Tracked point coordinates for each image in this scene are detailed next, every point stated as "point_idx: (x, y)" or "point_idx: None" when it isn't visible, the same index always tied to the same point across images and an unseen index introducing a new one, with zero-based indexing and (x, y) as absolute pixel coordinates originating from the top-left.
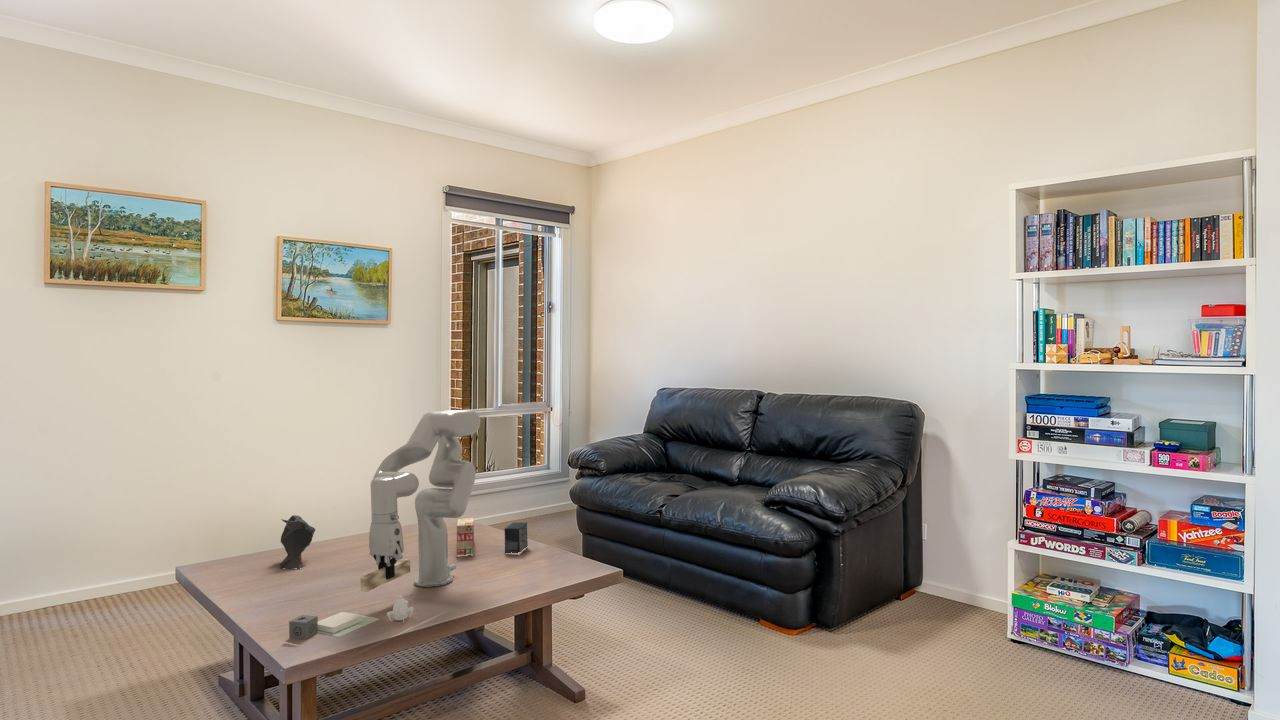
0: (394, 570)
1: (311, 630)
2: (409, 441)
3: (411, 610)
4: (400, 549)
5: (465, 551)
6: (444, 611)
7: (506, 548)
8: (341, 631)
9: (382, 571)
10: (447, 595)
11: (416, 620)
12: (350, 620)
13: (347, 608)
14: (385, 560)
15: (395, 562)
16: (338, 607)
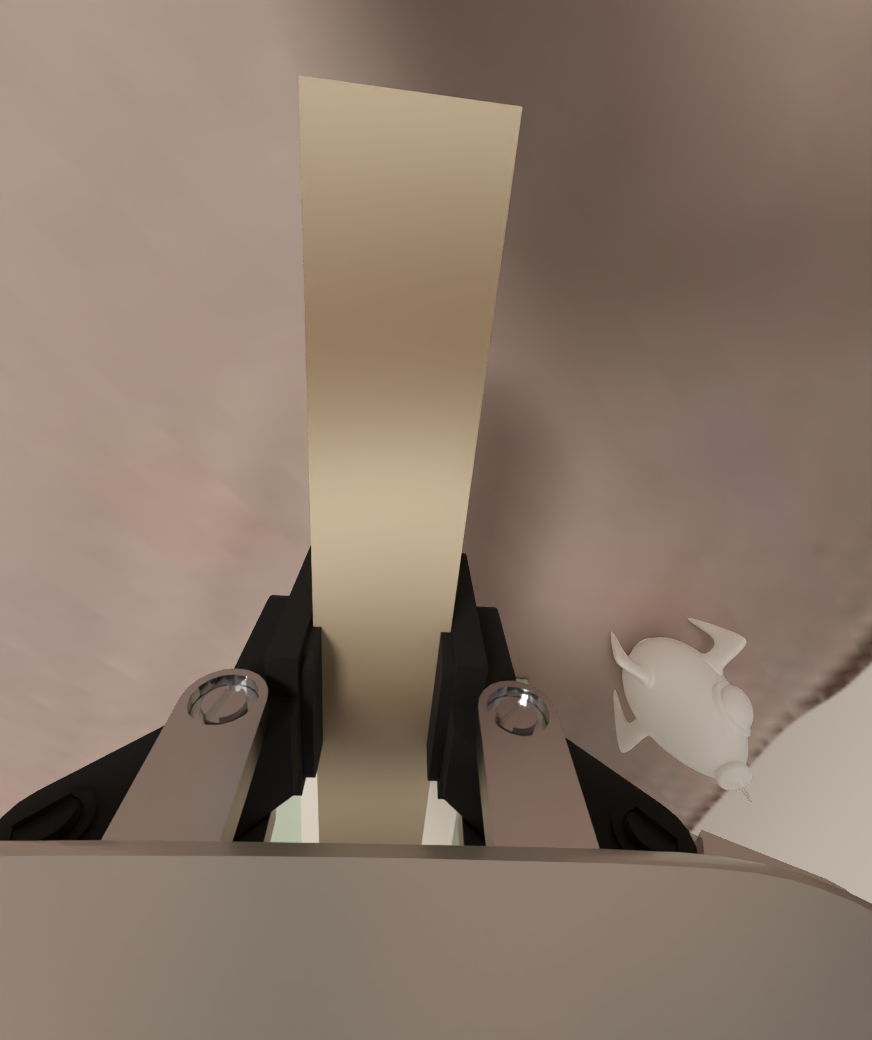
0: (474, 597)
1: None
2: None
3: (726, 642)
4: (806, 974)
5: None
6: (866, 440)
7: None
8: (456, 839)
9: (428, 785)
10: (763, 23)
11: (737, 621)
12: (454, 824)
13: (175, 597)
14: (265, 710)
15: (581, 764)
16: (101, 601)
